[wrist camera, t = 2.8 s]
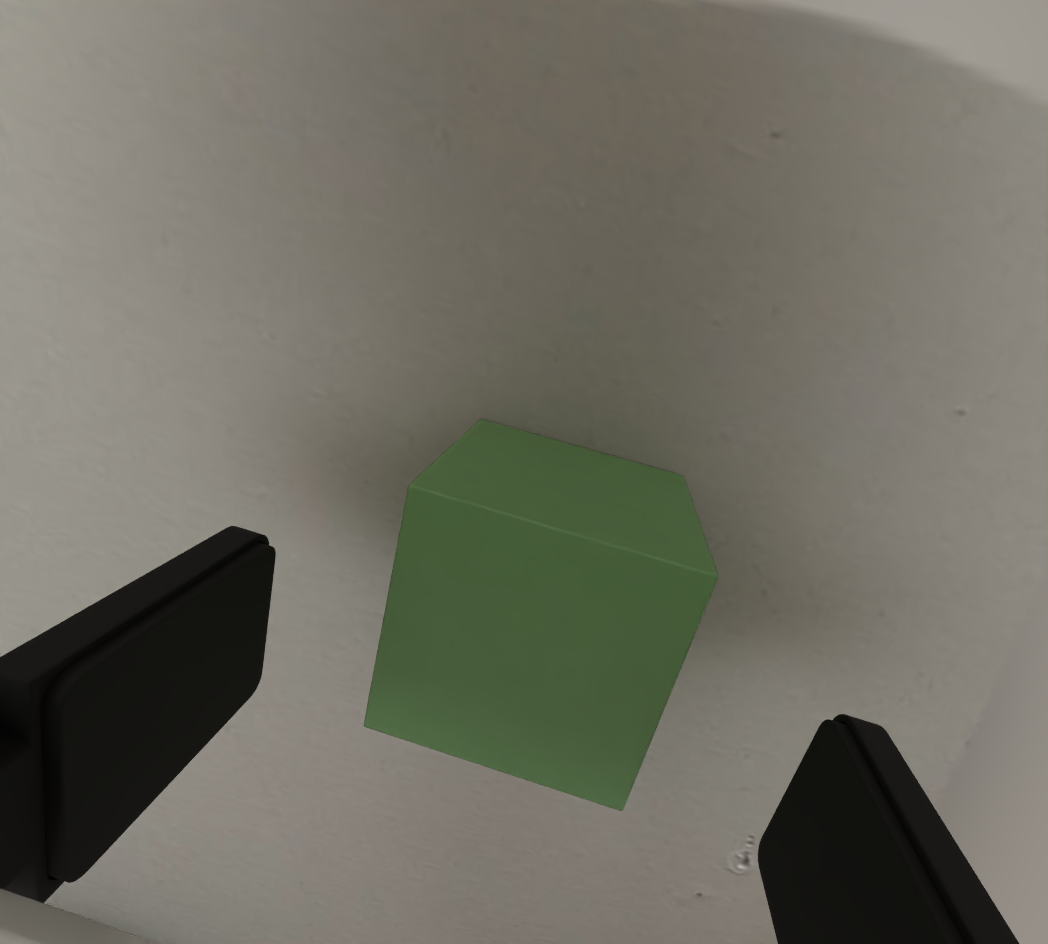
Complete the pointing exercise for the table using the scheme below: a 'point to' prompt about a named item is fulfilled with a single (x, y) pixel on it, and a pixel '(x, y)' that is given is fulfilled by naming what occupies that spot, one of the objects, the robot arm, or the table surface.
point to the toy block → (540, 610)
